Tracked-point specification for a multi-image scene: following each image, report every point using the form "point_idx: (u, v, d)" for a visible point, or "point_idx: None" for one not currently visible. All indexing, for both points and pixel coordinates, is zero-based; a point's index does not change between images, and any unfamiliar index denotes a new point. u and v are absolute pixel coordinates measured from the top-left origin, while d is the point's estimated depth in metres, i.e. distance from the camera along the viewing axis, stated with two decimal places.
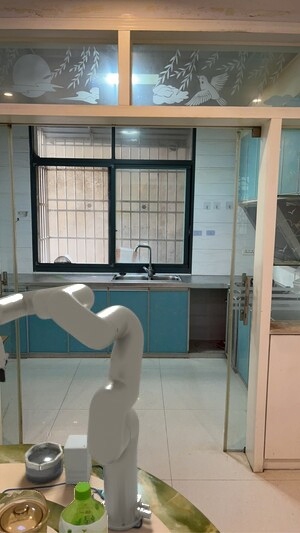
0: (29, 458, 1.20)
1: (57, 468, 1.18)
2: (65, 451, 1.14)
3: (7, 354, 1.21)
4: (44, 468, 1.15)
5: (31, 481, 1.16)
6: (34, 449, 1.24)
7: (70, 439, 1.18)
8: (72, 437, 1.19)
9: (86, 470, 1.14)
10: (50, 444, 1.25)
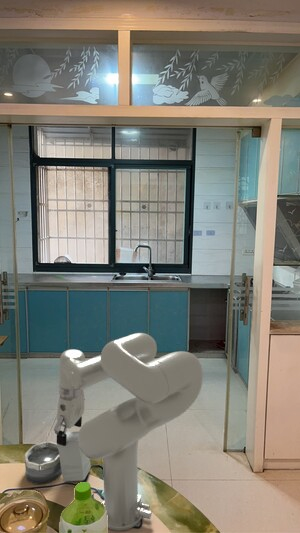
0: (29, 458, 1.20)
1: (57, 468, 1.18)
2: (59, 446, 1.15)
3: (83, 400, 1.25)
4: (44, 468, 1.15)
5: (31, 481, 1.16)
6: (34, 449, 1.24)
7: None
8: (68, 434, 1.20)
9: (81, 465, 1.14)
10: (50, 444, 1.25)
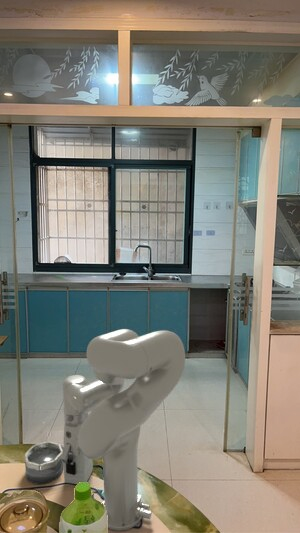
0: (29, 458, 1.20)
1: (57, 468, 1.18)
2: (63, 449, 1.14)
3: None
4: (44, 468, 1.15)
5: (31, 481, 1.16)
6: (34, 449, 1.24)
7: None
8: None
9: (83, 471, 1.14)
10: (50, 444, 1.25)
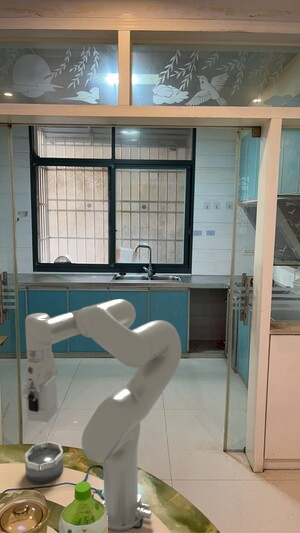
0: (29, 458, 1.20)
1: (57, 468, 1.18)
2: None
3: (56, 371, 1.24)
4: (44, 468, 1.15)
5: (31, 481, 1.16)
6: (34, 449, 1.24)
7: None
8: None
9: (46, 408, 1.14)
10: (50, 444, 1.25)
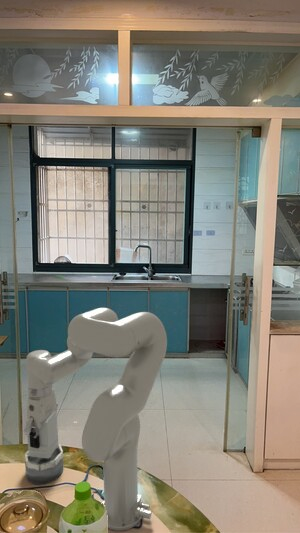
0: (29, 458, 1.20)
1: (57, 468, 1.18)
2: None
3: (56, 405, 1.25)
4: (44, 468, 1.15)
5: (31, 481, 1.16)
6: None
7: None
8: None
9: (47, 444, 1.15)
10: None
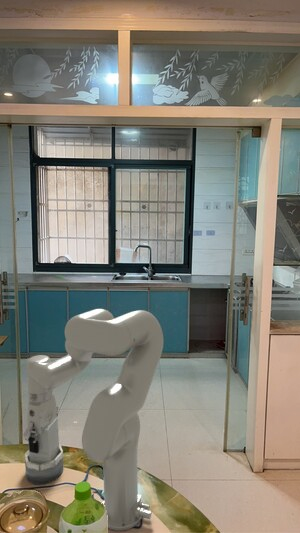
0: (29, 458, 1.20)
1: (57, 468, 1.18)
2: None
3: (57, 408, 1.26)
4: (44, 468, 1.15)
5: (31, 481, 1.16)
6: None
7: None
8: None
9: (48, 452, 1.16)
10: None
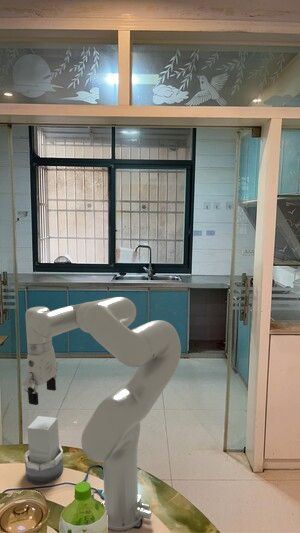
0: (29, 458, 1.20)
1: (57, 468, 1.18)
2: (28, 431, 1.16)
3: (56, 363, 1.24)
4: (44, 468, 1.15)
5: (31, 481, 1.16)
6: None
7: (37, 420, 1.20)
8: (40, 418, 1.21)
9: (48, 452, 1.16)
10: None
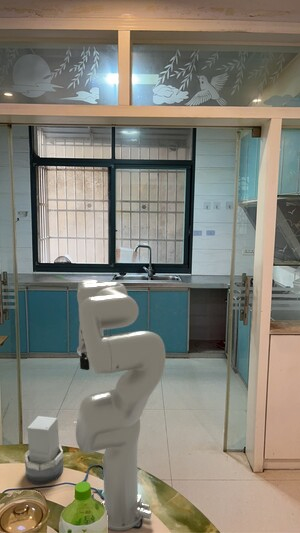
0: (29, 458, 1.20)
1: (57, 468, 1.18)
2: (28, 431, 1.16)
3: None
4: (44, 468, 1.15)
5: (31, 481, 1.16)
6: None
7: (37, 420, 1.20)
8: (40, 418, 1.21)
9: (48, 452, 1.16)
10: None
